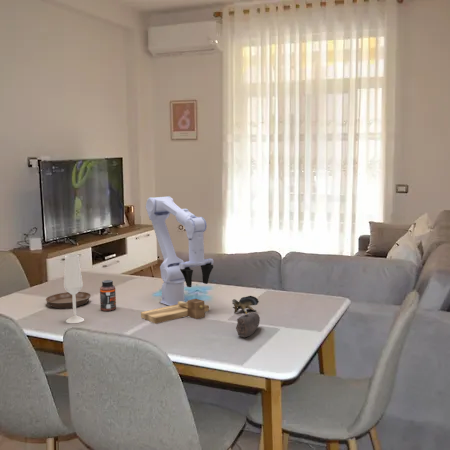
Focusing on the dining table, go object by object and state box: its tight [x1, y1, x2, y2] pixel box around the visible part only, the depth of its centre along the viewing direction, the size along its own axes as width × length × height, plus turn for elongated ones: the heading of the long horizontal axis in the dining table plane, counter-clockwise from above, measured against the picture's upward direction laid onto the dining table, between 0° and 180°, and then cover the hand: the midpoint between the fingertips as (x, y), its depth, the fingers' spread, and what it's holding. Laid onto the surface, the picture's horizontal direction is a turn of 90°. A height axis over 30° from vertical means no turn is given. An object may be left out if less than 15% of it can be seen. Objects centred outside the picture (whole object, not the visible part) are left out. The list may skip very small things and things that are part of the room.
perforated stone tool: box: [235, 312, 261, 338], centre depth 187 cm, size 15×5×7 cm, turn 152°
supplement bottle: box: [99, 279, 117, 312], centre depth 218 cm, size 6×6×11 cm
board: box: [140, 301, 210, 325], centre depth 211 cm, size 10×24×2 cm, turn 129°
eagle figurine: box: [231, 295, 260, 314], centre depth 212 cm, size 8×7×9 cm
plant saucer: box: [45, 291, 92, 309], centre depth 228 cm, size 18×18×3 cm
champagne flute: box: [63, 254, 85, 324], centre depth 203 cm, size 7×7×24 cm
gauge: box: [178, 298, 206, 320], centre depth 210 cm, size 14×4×6 cm, turn 42°
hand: (197, 285), depth 212 cm, fingers open, 7 cm apart
